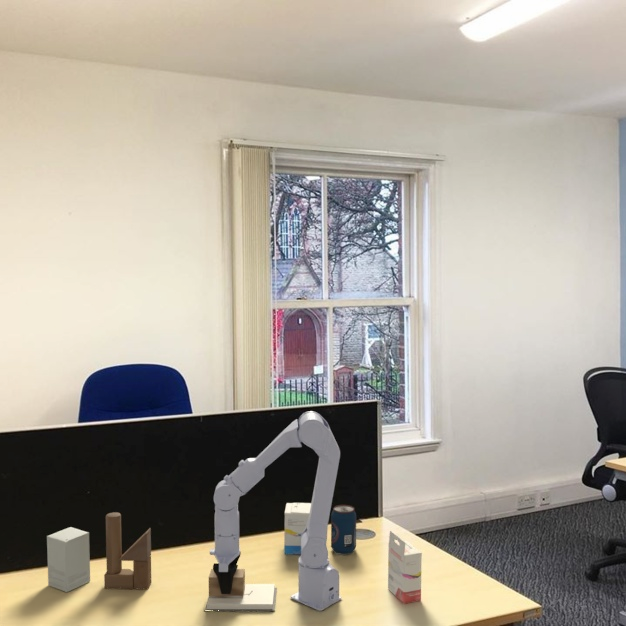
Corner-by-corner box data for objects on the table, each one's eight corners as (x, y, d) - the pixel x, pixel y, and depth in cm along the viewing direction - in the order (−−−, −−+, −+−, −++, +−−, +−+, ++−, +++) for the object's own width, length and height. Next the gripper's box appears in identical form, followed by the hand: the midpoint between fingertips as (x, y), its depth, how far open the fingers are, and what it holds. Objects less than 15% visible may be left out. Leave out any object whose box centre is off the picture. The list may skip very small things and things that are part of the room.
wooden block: (147, 590, 168) (146, 517, 167) (104, 589, 169) (102, 517, 167) (151, 583, 172) (150, 512, 171) (109, 582, 172) (107, 511, 171)
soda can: (327, 547, 194) (327, 505, 193) (350, 544, 196) (351, 502, 195) (335, 557, 187) (336, 513, 187) (359, 554, 190) (360, 511, 189)
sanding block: (244, 589, 166) (244, 569, 165) (243, 598, 161) (243, 577, 161) (211, 589, 166) (211, 568, 165) (208, 598, 161) (208, 577, 161)
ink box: (314, 555, 189) (315, 513, 188) (283, 554, 189) (283, 512, 188) (315, 542, 197) (315, 502, 197) (285, 541, 198) (285, 501, 197)
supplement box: (91, 581, 173) (90, 532, 172) (66, 593, 166) (64, 542, 166) (72, 574, 177) (71, 525, 176) (47, 585, 170) (45, 535, 170)
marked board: (276, 588, 169) (276, 582, 169) (274, 611, 158) (274, 605, 158) (211, 588, 169) (211, 582, 169) (204, 611, 158) (204, 605, 158)
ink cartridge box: (422, 601, 163) (423, 540, 162) (403, 604, 162) (404, 543, 160) (404, 585, 171) (405, 527, 170) (386, 588, 170) (387, 530, 168)
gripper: (214, 520, 169) (214, 574, 170) (205, 544, 155) (205, 603, 156) (242, 520, 170) (243, 574, 170) (236, 544, 155) (237, 603, 156)
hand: (227, 588), depth 163 cm, fingers closed on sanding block, 4 cm apart
